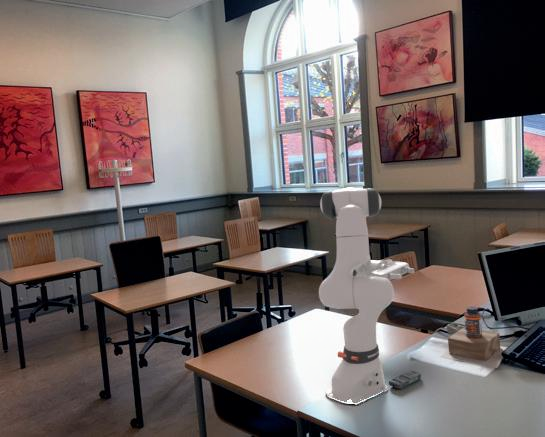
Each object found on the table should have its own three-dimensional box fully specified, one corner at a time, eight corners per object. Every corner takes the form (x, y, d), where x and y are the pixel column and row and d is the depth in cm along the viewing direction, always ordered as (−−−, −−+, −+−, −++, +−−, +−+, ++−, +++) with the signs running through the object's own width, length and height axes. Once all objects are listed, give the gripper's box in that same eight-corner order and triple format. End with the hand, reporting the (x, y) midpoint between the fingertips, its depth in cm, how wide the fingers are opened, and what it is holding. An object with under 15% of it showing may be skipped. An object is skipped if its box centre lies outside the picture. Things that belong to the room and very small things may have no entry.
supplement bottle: (464, 338, 188) (462, 309, 187) (466, 332, 193) (464, 304, 192) (481, 339, 185) (479, 310, 184) (482, 333, 191) (480, 305, 189)
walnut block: (485, 360, 180) (483, 345, 180) (449, 352, 191) (447, 338, 190) (500, 347, 190) (499, 332, 189) (465, 341, 200) (464, 326, 199)
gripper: (363, 269, 202) (392, 272, 192) (391, 258, 216) (419, 260, 206) (365, 284, 203) (394, 287, 193) (392, 272, 217) (420, 275, 207)
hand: (407, 273), depth 200 cm, fingers open, 8 cm apart
